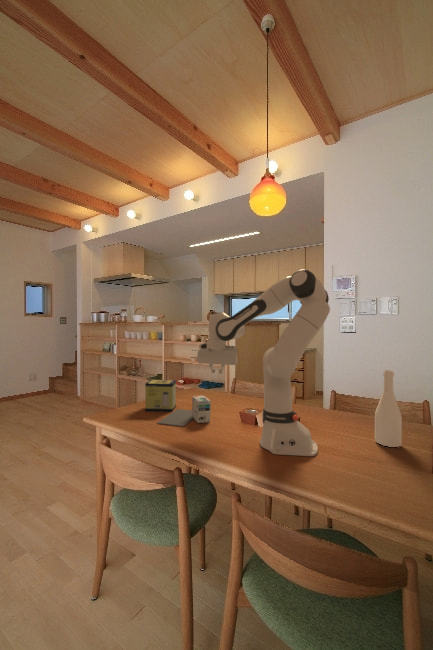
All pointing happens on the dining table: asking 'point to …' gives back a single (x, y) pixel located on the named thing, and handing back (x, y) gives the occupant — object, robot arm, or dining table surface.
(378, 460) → the dining table surface
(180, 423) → the rubber mat
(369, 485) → the dining table surface
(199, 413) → the light bulb box
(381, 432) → the wine bottle
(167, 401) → the protein box
